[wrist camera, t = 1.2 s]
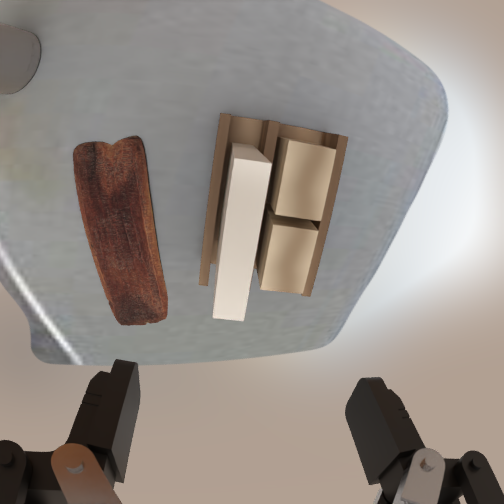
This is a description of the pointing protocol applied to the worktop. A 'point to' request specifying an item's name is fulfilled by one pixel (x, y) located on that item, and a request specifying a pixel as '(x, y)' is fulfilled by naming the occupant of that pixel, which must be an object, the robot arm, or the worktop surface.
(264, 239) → the offcut block
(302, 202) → the offcut block
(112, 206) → the wooden tablet
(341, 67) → the worktop surface
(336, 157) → the rack
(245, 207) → the cutting board
